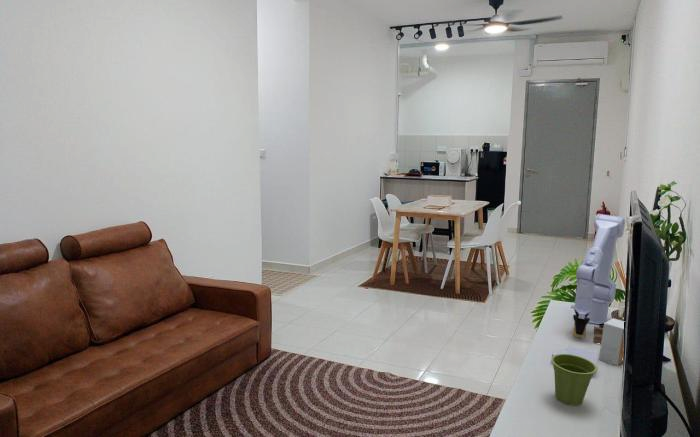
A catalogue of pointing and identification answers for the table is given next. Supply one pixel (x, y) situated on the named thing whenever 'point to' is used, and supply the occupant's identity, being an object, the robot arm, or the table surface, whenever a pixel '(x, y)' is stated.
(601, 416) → the table surface
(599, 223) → the robot arm
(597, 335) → the notched board
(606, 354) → the small box
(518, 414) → the table surface
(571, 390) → the plant pot
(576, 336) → the ochre block
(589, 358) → the wedge on round base
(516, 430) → the table surface
